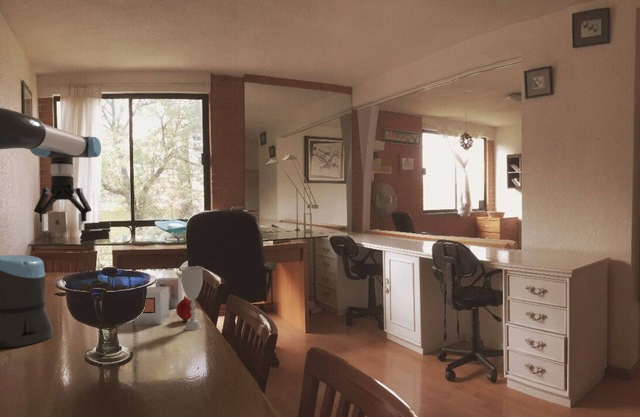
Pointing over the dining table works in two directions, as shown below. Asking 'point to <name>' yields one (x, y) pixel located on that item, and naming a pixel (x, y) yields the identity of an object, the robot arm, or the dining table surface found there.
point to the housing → (160, 307)
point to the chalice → (192, 291)
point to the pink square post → (152, 303)
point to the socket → (172, 289)
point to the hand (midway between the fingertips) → (63, 230)
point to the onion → (184, 309)
